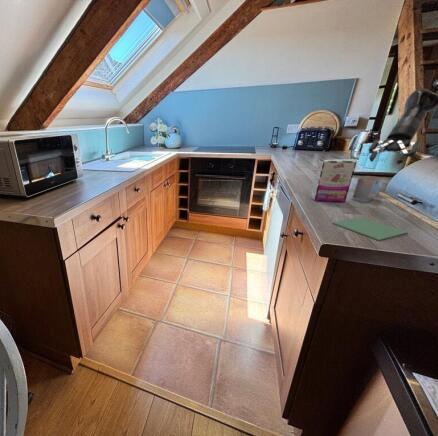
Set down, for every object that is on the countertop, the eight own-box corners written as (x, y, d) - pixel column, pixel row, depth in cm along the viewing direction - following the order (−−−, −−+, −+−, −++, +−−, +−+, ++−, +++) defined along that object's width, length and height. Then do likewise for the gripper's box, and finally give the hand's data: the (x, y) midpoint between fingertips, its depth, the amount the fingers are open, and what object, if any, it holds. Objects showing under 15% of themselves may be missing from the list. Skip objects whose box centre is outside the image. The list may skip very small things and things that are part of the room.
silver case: (351, 199, 101) (358, 178, 97) (359, 196, 104) (366, 175, 101) (366, 202, 97) (373, 180, 93) (373, 199, 101) (381, 177, 97)
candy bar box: (339, 199, 102) (351, 159, 95) (345, 202, 97) (358, 161, 91) (309, 197, 104) (319, 158, 98) (313, 201, 100) (324, 160, 93)
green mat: (359, 217, 83) (359, 216, 83) (407, 233, 72) (408, 232, 71) (332, 223, 79) (332, 222, 79) (378, 241, 68) (379, 239, 67)
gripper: (427, 138, 98) (407, 170, 97) (382, 136, 109) (363, 164, 108) (429, 124, 93) (408, 157, 92) (381, 124, 104) (362, 153, 103)
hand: (384, 161), depth 100 cm, fingers open, 8 cm apart
